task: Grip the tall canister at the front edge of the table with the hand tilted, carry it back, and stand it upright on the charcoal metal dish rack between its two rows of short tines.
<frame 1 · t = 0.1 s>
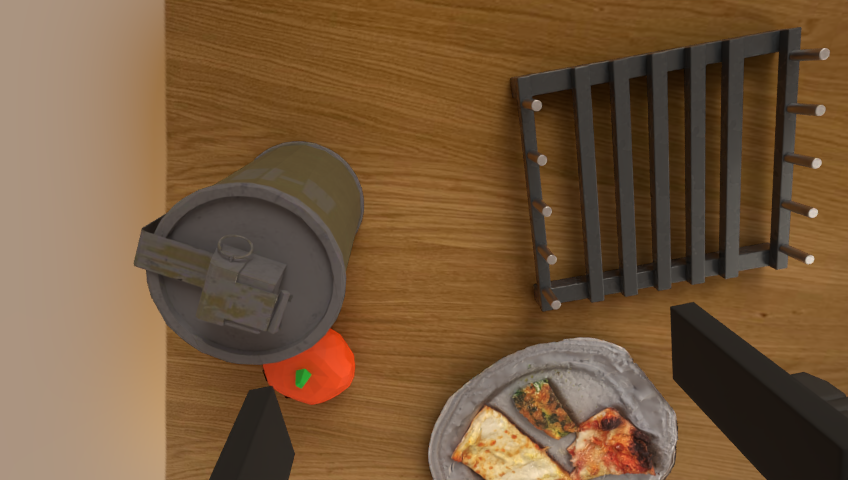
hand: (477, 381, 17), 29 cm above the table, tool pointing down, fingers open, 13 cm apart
pumpkin: (315, 347, 48), on the table
canister: (300, 201, 44), on the table
food plate: (549, 438, 53), on the table
dish rack: (647, 174, 44), on the table
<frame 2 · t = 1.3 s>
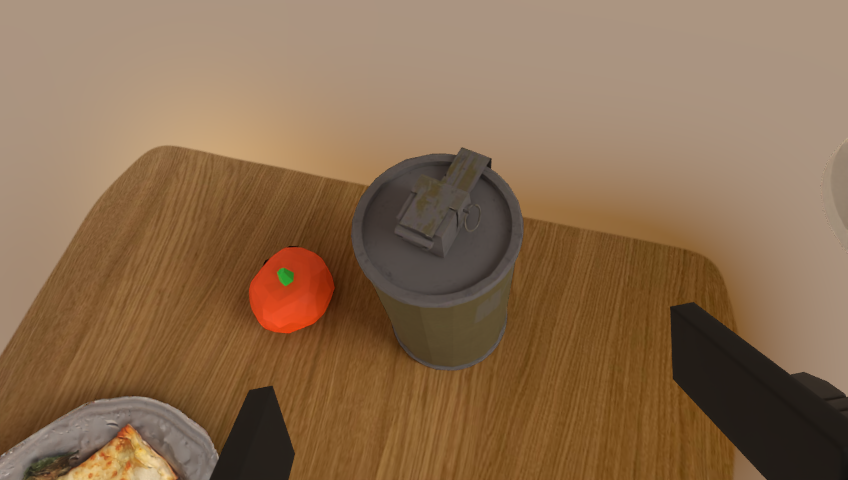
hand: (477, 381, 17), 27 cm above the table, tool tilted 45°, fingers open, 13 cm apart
pumpkin: (301, 301, 48), on the table
canister: (450, 311, 47), on the table
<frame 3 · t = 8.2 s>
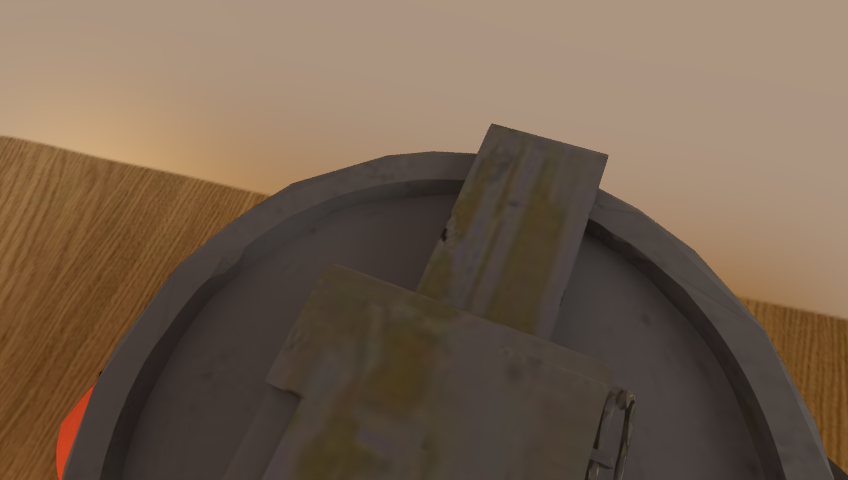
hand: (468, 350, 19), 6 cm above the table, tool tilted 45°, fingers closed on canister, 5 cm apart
pumpkin: (188, 441, 24), on the table
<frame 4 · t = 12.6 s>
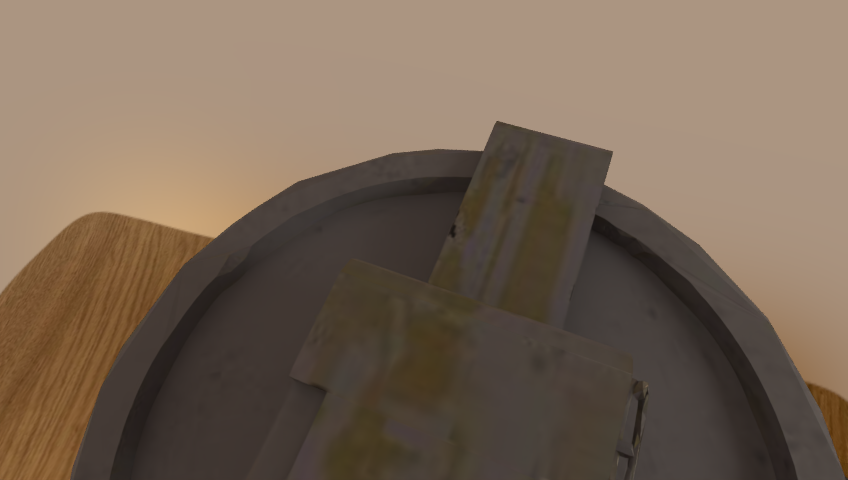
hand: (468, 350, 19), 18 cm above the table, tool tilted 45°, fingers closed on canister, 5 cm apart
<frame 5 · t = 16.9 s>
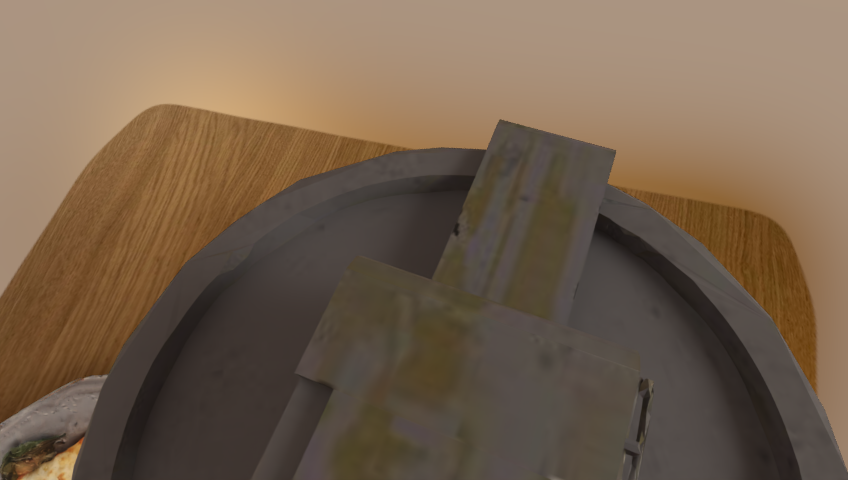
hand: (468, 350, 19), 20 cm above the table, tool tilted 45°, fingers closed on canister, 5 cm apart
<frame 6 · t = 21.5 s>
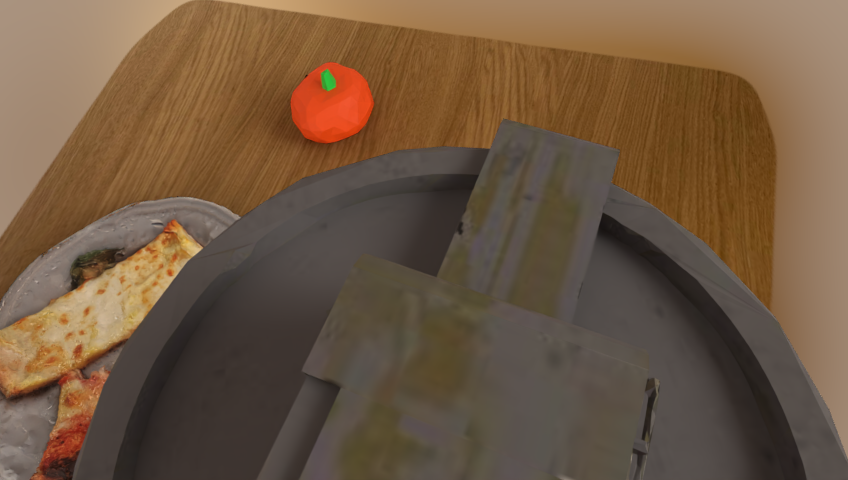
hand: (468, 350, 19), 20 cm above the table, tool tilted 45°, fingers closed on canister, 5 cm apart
pumpkin: (339, 124, 49), on the table
food plate: (143, 350, 41), on the table
when the fingers open (9 cm above the table, at t = 25.8 s): canister stays where it is, resting on dish rack.
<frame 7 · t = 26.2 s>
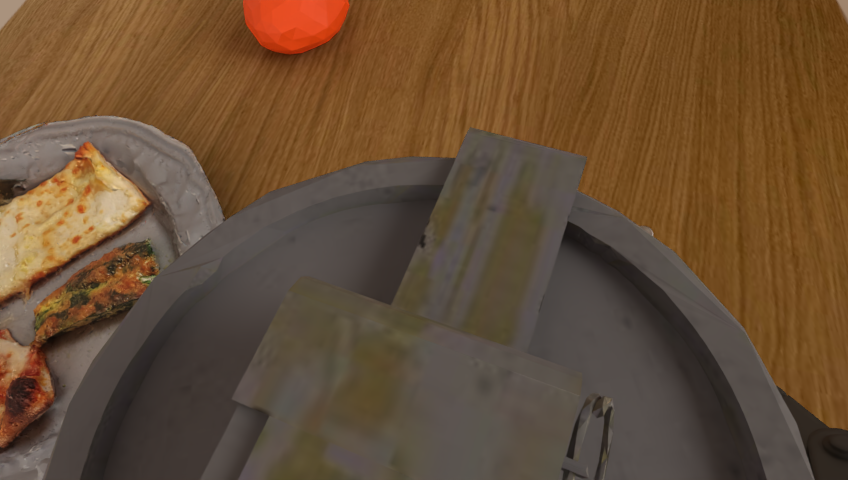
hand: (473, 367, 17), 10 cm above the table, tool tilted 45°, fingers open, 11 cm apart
pumpkin: (307, 37, 39), on the table
food plate: (41, 308, 31), on the table
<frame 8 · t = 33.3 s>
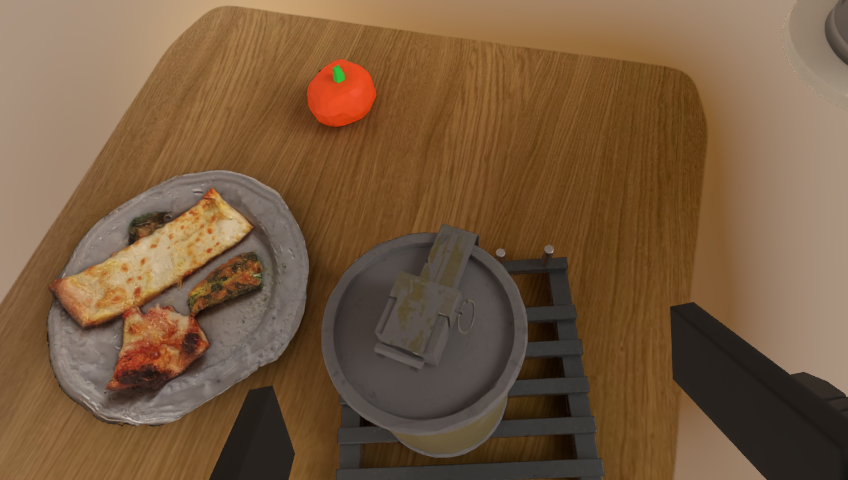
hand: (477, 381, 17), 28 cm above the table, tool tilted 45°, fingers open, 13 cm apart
pumpkin: (347, 112, 58), on the table
canister: (443, 385, 41), point 2 cm above the table, touching dish rack
food plate: (188, 293, 50), on the table
dish rack: (462, 395, 43), on the table
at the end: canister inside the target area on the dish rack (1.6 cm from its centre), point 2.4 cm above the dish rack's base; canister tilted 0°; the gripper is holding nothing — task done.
